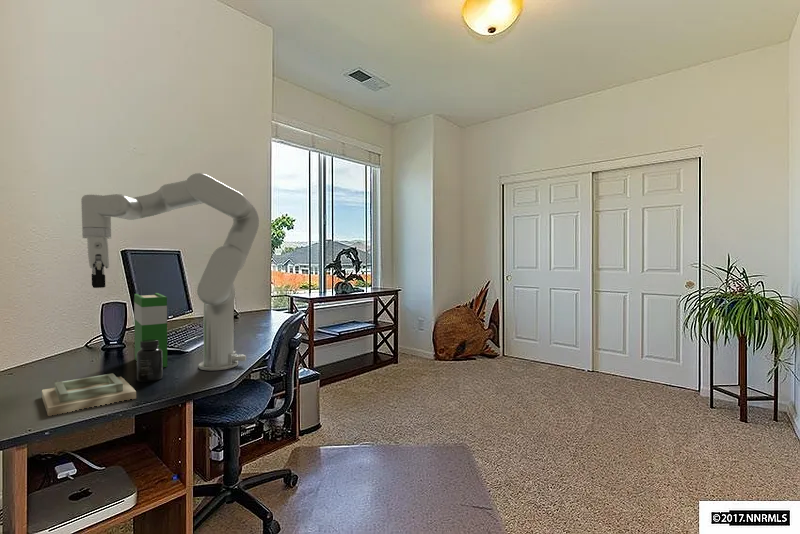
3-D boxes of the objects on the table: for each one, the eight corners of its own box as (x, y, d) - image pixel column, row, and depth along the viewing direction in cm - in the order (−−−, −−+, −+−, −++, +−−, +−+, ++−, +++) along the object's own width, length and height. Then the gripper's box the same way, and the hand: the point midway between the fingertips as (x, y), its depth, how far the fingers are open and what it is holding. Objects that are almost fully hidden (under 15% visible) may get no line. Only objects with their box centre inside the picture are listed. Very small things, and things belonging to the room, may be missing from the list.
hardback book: (134, 359, 151) (134, 293, 151) (158, 356, 156) (157, 292, 155) (142, 370, 138) (141, 298, 137) (167, 366, 142) (166, 296, 142)
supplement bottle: (167, 377, 130) (167, 339, 130) (148, 383, 124) (147, 343, 123) (151, 375, 132) (151, 337, 132) (131, 381, 126) (130, 341, 125)
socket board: (121, 383, 124) (121, 369, 124) (136, 398, 111) (136, 383, 111) (41, 397, 111) (41, 382, 111) (48, 416, 98) (47, 399, 98)
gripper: (113, 232, 129) (114, 287, 130) (109, 235, 143) (110, 284, 144) (82, 232, 125) (84, 289, 125) (81, 234, 138) (83, 285, 139)
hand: (98, 286), depth 134 cm, fingers open, 9 cm apart
